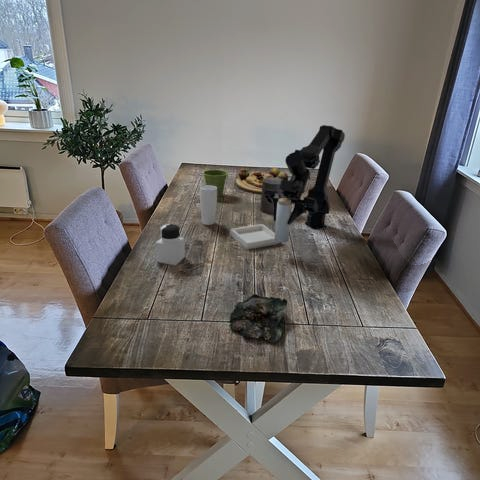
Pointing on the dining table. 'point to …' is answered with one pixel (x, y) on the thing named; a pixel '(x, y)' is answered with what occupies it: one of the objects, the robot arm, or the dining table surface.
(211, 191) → the drinking glass
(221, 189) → the plant pot
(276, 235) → the spice jar
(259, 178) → the wooden plate with food
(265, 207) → the pillar candle
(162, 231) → the medicine bottle
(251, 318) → the decorative rock
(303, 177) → the robot arm
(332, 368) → the dining table surface
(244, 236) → the white square dish
